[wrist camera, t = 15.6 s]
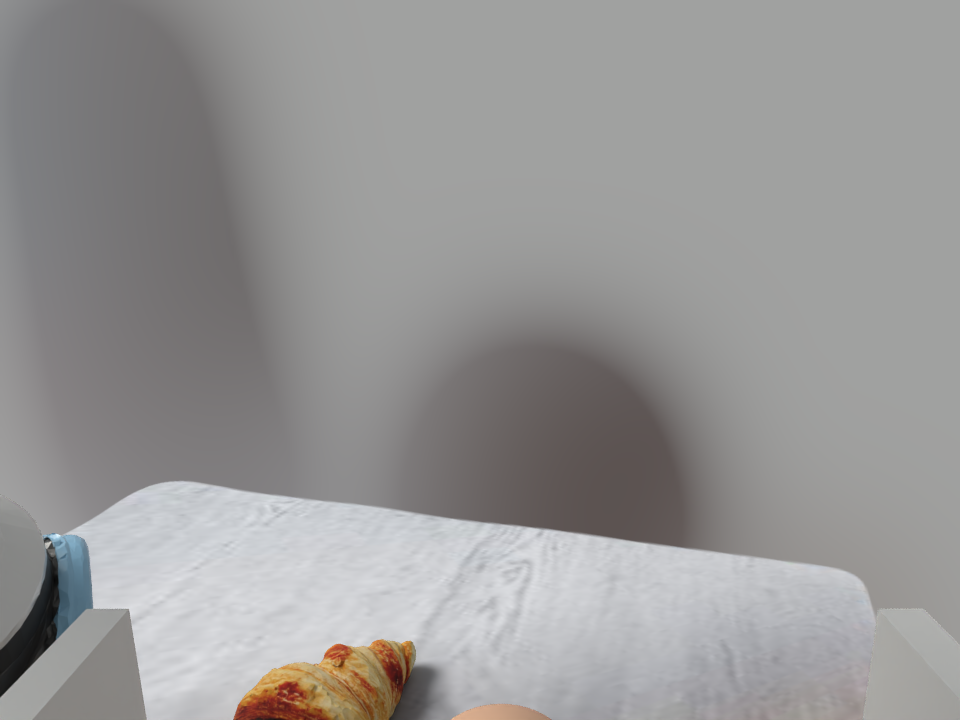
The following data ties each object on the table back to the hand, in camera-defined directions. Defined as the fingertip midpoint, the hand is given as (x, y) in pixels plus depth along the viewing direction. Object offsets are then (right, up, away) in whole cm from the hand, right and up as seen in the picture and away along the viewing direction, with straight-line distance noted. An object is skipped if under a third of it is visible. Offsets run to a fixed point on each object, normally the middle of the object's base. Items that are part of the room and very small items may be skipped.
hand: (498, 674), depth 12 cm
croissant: (-12, -22, +37) cm, 44 cm away
